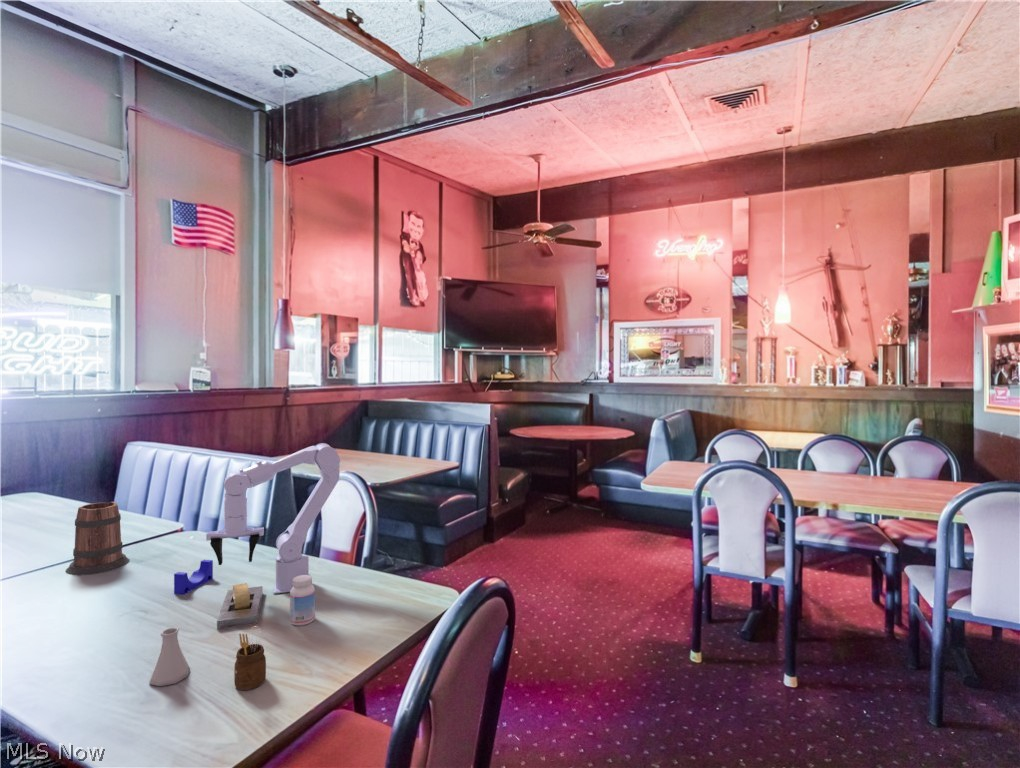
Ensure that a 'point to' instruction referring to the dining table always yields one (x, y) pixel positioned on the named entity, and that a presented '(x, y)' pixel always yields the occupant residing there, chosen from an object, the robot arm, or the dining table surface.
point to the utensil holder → (249, 665)
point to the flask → (170, 661)
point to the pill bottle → (302, 600)
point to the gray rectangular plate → (240, 617)
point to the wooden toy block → (241, 597)
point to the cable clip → (193, 578)
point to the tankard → (97, 540)
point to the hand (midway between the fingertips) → (235, 562)
